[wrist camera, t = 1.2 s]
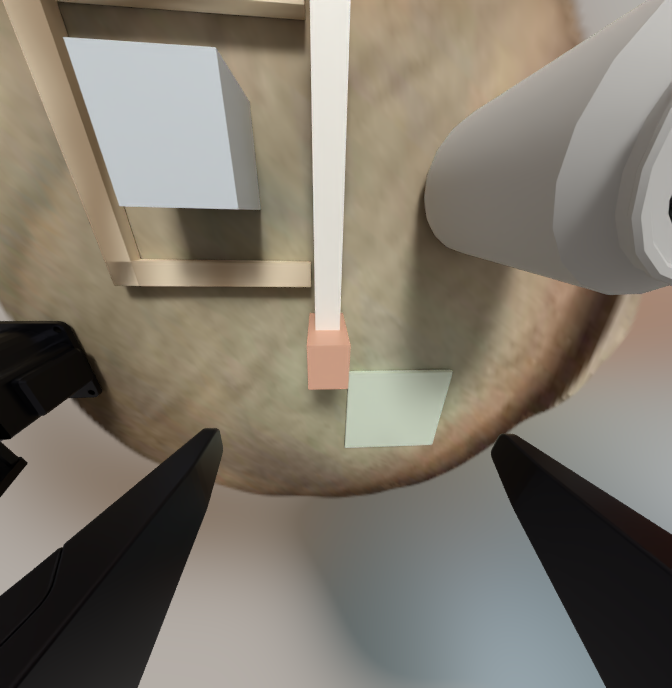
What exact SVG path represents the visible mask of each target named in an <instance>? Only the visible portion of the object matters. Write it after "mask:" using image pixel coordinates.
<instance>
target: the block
mask: <svg viewBox="0 0 672 688" xmlns="http://www.w3.org/2000/svg"><path fill="white" fill-rule="evenodd" d="M63 38H64V41H65V44H66V47H67V50H68V53H69V56H70V59H71V62H72V65H73V68H74V71H75V74H76V77H77V80H78V83H79V86H80V89H81V92H82V95H83V98H84V101H85V104H86V107H87V110H88V113H89V116H90V119H91V122H92V125H93V128H94V131H95V134H96V137H97V140H98V143H99V146H100V149H101V152H102V155H103V158H104V161H105V164H106V167H107V170H108V173H109V176H110V179H111V182H112V185H113V188H114V191H115V194H116V197H117V200H118V203H119V206H130V207H168V208H206V209H245V210H261V207H260V197H259V188H258V178H257V168H256V158H255V149H254V139H253V129H252V120H251V110H250V101H249V100H248V98H247V97H246V95H245V93H244V92H243V90H242V89H241V87H240V85H239V84H238V82H237V81H236V79H235V77H234V76H233V74H232V73H231V71H230V69H229V68H228V66H227V65H226V63H225V61H224V60H223V58H222V57H221V55H220V53H219V52H218V50H217V49H216V47H204V46H189V45H174V44H159V43H145V42H130V41H115V40H100V39H86V38H71V37H63Z"/></svg>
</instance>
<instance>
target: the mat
mask: <svg viewBox="0 0 672 688" xmlns="http://www.w3.org/2000/svg"><path fill="white" fill-rule="evenodd" d="M452 373H453V372H452V370H388V371H349V382H348V392H347V410H346V429H345V448H356V447H384V446H412V445H432V443H433V439H434V436H435V432H436V429H437V425H438V422H439V419H440V415H441V412H442V408H443V405H444V401H445V398H446V394H447V391H448V387H449V384H450V380H451V377H452Z"/></svg>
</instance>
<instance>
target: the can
mask: <svg viewBox="0 0 672 688" xmlns="http://www.w3.org/2000/svg"><path fill="white" fill-rule="evenodd" d="M424 202H425V210H426V217H427V221H428V223H429V225H430V227H431V229H432V231H433V233H434V235H435V236H436V237H437V238H438V239H439V240H440V241H441V242H442V243H443V244H444V245H445V246H446V247H448V248H450V249H453V250H456V251H458V252H461V253H464V254H468V255H471V256H475V257H478V258H482V259H485V260H489V261H492V262H496V263H499V264H503V265H506V266H510V267H513V268H517V269H520V270H524V271H527V272H531V273H534V274H538V275H541V276H545V277H548V278H552V279H555V280H559V281H562V282H565V283H569V284H572V285H576V286H579V287H583V288H586V289H590V290H593V291H597V292H600V293H604V294H607V295H614V294H642V293H646V292H649V291H652V290H656V289H659V288H662V287H665V286H669V285H670V286H672V0H647V1H645V2H644V3H642V4H641V5H639V6H638V7H636V8H635V9H633V10H631V11H630V12H628V13H627V14H625V15H624V16H622V17H620V18H619V19H617V20H616V21H614V22H613V23H612V24H610V25H608V26H607V27H605V28H603V29H602V30H600V31H599V32H597V33H596V34H594V35H593V36H591V37H589V38H588V39H586V40H585V41H583V42H582V43H580V44H578V45H577V46H575V47H574V48H572V49H571V50H569V51H568V52H566V53H565V54H563V55H561V56H560V57H558V58H557V59H555V60H554V61H552V62H551V63H549V64H547V65H546V66H544V67H543V68H541V69H540V70H538V71H537V72H535V73H533V74H532V75H530V76H529V77H527V78H526V79H524V80H523V81H521V82H519V83H518V84H516V85H515V86H513V87H512V88H510V89H509V90H507V91H505V92H504V93H502V94H501V95H499V96H498V97H496V98H495V99H493V100H491V101H490V102H488V103H487V104H485V105H484V106H482V107H481V108H479V109H477V110H476V111H474V112H473V113H472V114H470V115H469V116H468V117H467V118H466V119H464V120H463V121H462V122H461V123H459V124H458V125H457V126H456V127H454V128H453V129H452V131H451V132H450V133H449V135H448V136H447V138H446V139H445V140H444V142H443V143H442V145H441V146H440V147H439V149H438V150H437V152H436V154H435V157H434V159H433V162H432V164H431V167H430V169H429V172H428V174H427V180H426V187H425V195H424Z"/></svg>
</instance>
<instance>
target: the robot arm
mask: <svg viewBox="0 0 672 688" xmlns="http://www.w3.org/2000/svg"><path fill="white" fill-rule="evenodd" d="M59 328H60V329H61V330H60V329H59ZM101 393H102V389H101V387H100V385H99V383H98V381H97V379H96V377H95V375H94V373H93V371H92V369H91V367H90V365H89V363H88V362H87V360H86V358H85V356H84V354H83V352H82V350H81V348H80V346H79V344H78V342H77V340H76V338H75V336H74V334H73V332H72V331H71V329H70V327H69V326H68V325H67V324H66V323H64V322H61V321H0V497H1V496H2V495H3V493H4V492H5V491H6V490H7V488H8V487H9V486H10V485H11V483H12V482H13V481H14V480H15V478H16V477H17V476H18V475H19V473H20V472H21V471H22V470H23V469H24V467H25V466H26V465H27V462H26V461H25V460H24V459H23V458H22V457H18V456H16V455H15V454H14V453H13V452H12V451H11V450H10V449H8V448H7V447H6V446H5V445H4V444H2V442H1V441H2V440H6V439H11V438H12V437H13V436H15V435H16V434H17V433H19V432H20V431H21V430H23V429H24V428H26V427H27V426H28V425H30V424H31V423H32V422H34V421H35V420H37V419H38V418H39V417H41V416H44V415H46V414H47V413H49V412H50V411H51V410H53V409H54V408H55V407H57V406H58V405H59V404H61V403H62V402H63V401H65V400H66V399H67V398H86V397H97V396H98V395H99V394H101ZM222 453H223V445H222V440H221V435H220V431H219V429H217V428H205V429H203V430H201V431H200V432H199V433H198V434H196V435H195V436H194V437H193V438H192V439H190V440H189V441H188V442H187V443H186V444H184V445H183V446H182V447H181V448H180V449H178V450H177V451H176V452H175V453H174V454H172V455H171V456H170V457H169V458H167V459H166V460H165V461H164V462H163V463H161V464H160V465H159V466H158V467H157V468H155V469H154V470H153V471H152V472H151V473H149V474H148V475H147V476H146V477H145V478H143V479H142V480H141V481H140V482H138V483H137V484H136V485H135V486H134V487H133V488H131V489H130V490H129V491H128V492H127V493H125V494H124V495H123V496H122V497H120V498H119V499H118V500H117V501H116V502H114V503H113V504H112V505H111V506H109V507H108V508H107V509H106V510H105V511H103V512H102V513H101V514H100V515H99V516H97V517H96V518H95V519H94V520H93V521H91V522H90V523H89V524H88V525H87V526H85V527H84V528H83V529H82V530H81V531H79V532H78V533H77V534H76V535H75V536H73V537H72V538H71V539H70V540H68V541H67V542H66V543H65V544H64V546H63V548H62V547H61V548H59V549H57V550H56V551H55V552H54V553H53V554H51V555H50V556H49V557H48V558H47V559H45V560H44V561H43V562H42V563H40V564H39V565H38V566H37V567H36V568H34V569H33V570H32V571H31V572H30V573H28V574H27V575H26V576H24V577H23V578H22V579H21V580H19V581H18V582H17V583H16V584H15V585H13V586H12V587H11V588H10V589H8V590H7V591H6V592H5V593H3V594H2V595H1V596H0V688H138V685H139V683H140V680H141V677H142V675H143V673H144V670H145V667H146V665H147V662H148V660H149V657H150V655H151V652H152V649H153V647H154V644H155V642H156V639H157V636H158V634H159V631H160V629H161V626H162V624H163V621H164V618H165V616H166V613H167V611H168V608H169V606H170V603H171V600H172V598H173V595H174V593H175V590H176V587H177V585H178V582H179V580H180V577H181V574H182V572H183V570H184V567H185V564H186V562H187V559H188V557H189V554H190V551H191V549H192V546H193V544H194V541H195V539H196V536H197V533H198V531H199V528H200V526H201V523H202V521H203V518H204V515H205V513H206V510H207V507H208V504H209V500H210V497H211V493H212V489H213V486H214V482H215V479H216V475H217V472H218V468H219V464H220V461H221V457H222ZM491 457H492V460H493V462H494V464H495V467H496V469H497V471H498V474H499V476H500V479H501V481H502V484H503V486H504V488H505V491H506V493H507V496H508V498H509V500H510V503H511V505H512V507H513V509H514V511H515V513H516V515H517V517H518V519H519V521H520V523H521V525H522V527H523V529H524V530H525V532H526V534H527V536H528V538H529V540H530V542H531V544H532V546H533V548H534V550H535V552H536V554H537V555H538V557H539V559H540V561H541V563H542V565H543V567H544V569H545V571H546V573H547V575H548V576H549V579H550V581H551V582H552V584H553V586H554V588H555V590H556V592H557V594H558V596H559V598H560V600H561V602H562V604H563V605H564V608H565V609H566V611H567V613H568V615H569V617H570V619H571V621H572V623H573V625H574V627H575V629H576V631H577V633H578V634H579V636H580V638H581V640H582V642H583V644H584V646H585V648H586V650H587V652H588V653H589V656H590V657H591V659H592V661H593V663H594V665H595V667H596V669H597V671H598V673H599V675H600V677H601V679H602V680H603V682H604V685H605V686H606V688H672V534H670V533H669V532H667V531H666V530H664V529H662V528H661V527H659V526H658V525H656V524H655V523H653V522H651V521H650V520H648V519H647V518H645V517H644V516H642V515H640V514H639V513H637V512H636V511H634V510H633V509H631V508H630V507H628V506H626V505H625V504H623V503H622V502H620V501H619V500H617V499H615V498H614V497H612V496H610V495H609V494H608V493H606V492H604V491H603V490H601V489H599V488H598V487H596V486H595V485H593V484H592V483H590V482H589V481H587V480H586V479H584V478H582V477H581V476H579V475H578V474H576V473H575V472H573V471H572V470H570V469H568V468H567V467H565V466H564V465H562V464H561V463H559V462H558V461H556V460H554V459H553V458H551V457H550V456H548V455H547V454H545V453H543V452H542V451H540V450H539V449H537V448H536V447H534V446H532V445H531V444H529V443H528V442H526V441H525V440H523V439H522V438H520V437H518V436H517V435H515V434H501V435H499V437H498V438H497V440H496V442H495V444H494V446H493V448H492V450H491Z"/></svg>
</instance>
